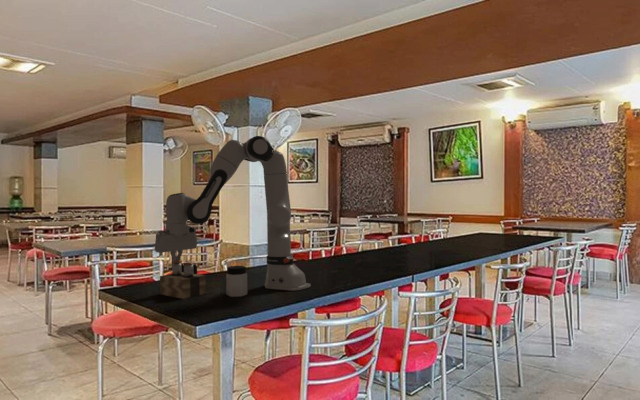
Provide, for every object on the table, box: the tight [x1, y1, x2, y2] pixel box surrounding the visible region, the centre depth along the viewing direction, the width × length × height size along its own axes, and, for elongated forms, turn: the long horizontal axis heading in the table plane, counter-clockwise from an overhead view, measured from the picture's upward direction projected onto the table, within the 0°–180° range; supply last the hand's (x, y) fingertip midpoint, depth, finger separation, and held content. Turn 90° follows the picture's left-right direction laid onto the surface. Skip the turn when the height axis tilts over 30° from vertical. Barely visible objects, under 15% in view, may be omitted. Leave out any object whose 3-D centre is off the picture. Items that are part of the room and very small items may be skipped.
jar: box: [225, 265, 248, 298], centre depth 202 cm, size 9×8×12 cm
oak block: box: [159, 272, 207, 300], centre depth 204 cm, size 16×12×8 cm
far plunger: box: [171, 260, 183, 276], centre depth 206 cm, size 4×4×8 cm
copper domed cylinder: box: [183, 261, 195, 278], centre depth 202 cm, size 4×4×8 cm
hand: (176, 260), depth 206 cm, fingers closed
